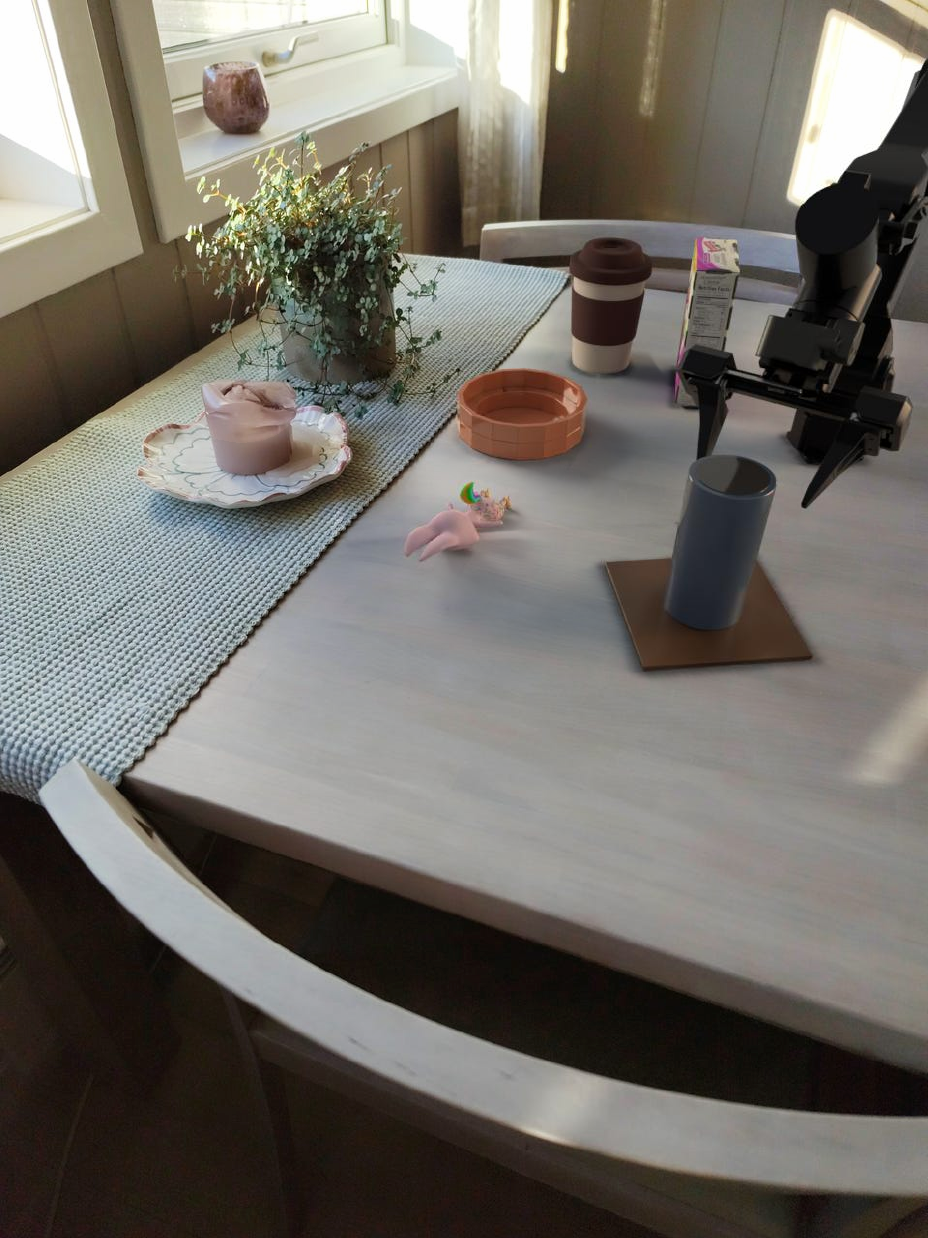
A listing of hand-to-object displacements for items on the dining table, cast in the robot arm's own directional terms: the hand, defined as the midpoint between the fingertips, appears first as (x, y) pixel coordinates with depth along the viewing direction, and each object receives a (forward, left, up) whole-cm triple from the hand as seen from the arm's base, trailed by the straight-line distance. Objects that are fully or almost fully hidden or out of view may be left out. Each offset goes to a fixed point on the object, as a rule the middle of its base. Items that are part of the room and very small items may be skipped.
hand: (749, 489), depth 73 cm
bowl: (+15, -28, -9) cm, 33 cm away
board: (+4, +5, -9) cm, 11 cm away
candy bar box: (-8, -37, -9) cm, 39 cm away
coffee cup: (+2, -45, -9) cm, 46 cm away
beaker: (+4, +5, -8) cm, 11 cm away
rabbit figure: (+24, -7, -9) cm, 27 cm away
